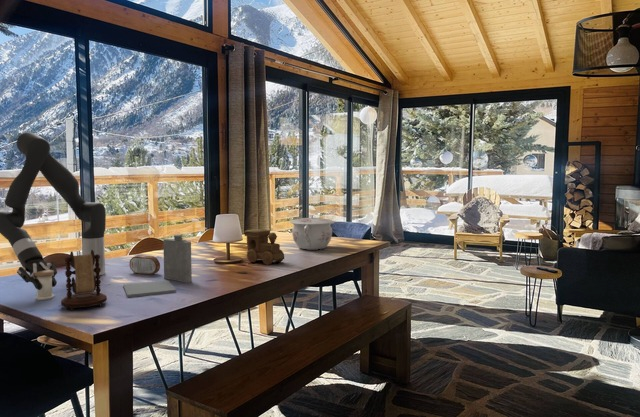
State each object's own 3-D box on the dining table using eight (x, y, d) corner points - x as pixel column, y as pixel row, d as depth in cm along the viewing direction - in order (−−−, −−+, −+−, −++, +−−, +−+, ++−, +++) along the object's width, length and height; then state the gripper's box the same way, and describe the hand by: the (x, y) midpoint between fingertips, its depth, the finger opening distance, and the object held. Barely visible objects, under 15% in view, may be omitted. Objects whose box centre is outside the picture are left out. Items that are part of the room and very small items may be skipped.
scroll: (65, 314, 165) (62, 255, 163) (58, 304, 177) (55, 249, 175) (111, 307, 174) (109, 251, 172) (101, 297, 186) (100, 245, 184)
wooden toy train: (243, 261, 257) (242, 230, 256) (257, 258, 266) (257, 228, 265) (272, 266, 246) (272, 233, 244) (286, 262, 255) (286, 231, 254)
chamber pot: (315, 243, 320) (315, 211, 318) (343, 249, 298) (344, 215, 297) (280, 247, 302) (280, 214, 300) (307, 254, 281) (307, 218, 279)
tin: (160, 274, 227) (160, 256, 226) (156, 275, 224) (156, 257, 223) (132, 272, 231) (132, 254, 231) (128, 273, 228) (128, 255, 227)
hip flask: (162, 278, 219) (161, 233, 217) (169, 276, 222) (168, 232, 220) (187, 282, 210) (186, 236, 208) (194, 281, 214) (193, 235, 212)
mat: (123, 286, 202) (123, 284, 202) (168, 282, 210) (168, 280, 210) (127, 297, 186) (127, 294, 186) (175, 292, 194) (175, 289, 194)
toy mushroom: (31, 298, 184) (30, 272, 183) (48, 294, 190) (47, 269, 189) (41, 300, 181) (40, 274, 180) (58, 296, 187) (57, 271, 186)
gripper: (11, 249, 181) (32, 285, 176) (49, 243, 194) (69, 277, 189) (4, 261, 184) (24, 297, 179) (41, 255, 197) (61, 289, 192)
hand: (47, 286), depth 184 cm, fingers closed on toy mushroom, 5 cm apart
